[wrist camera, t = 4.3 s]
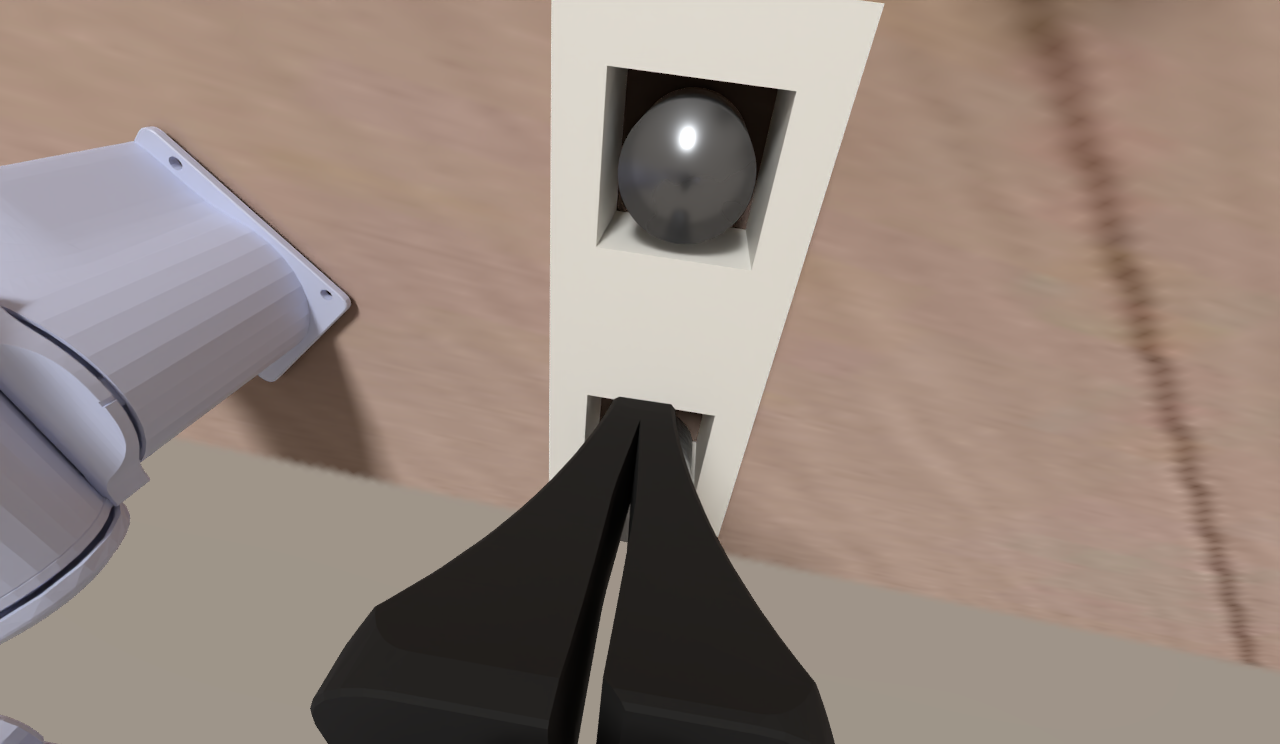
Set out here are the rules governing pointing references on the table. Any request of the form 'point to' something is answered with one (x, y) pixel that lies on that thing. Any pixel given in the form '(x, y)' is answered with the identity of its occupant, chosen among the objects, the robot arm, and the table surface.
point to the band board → (701, 272)
